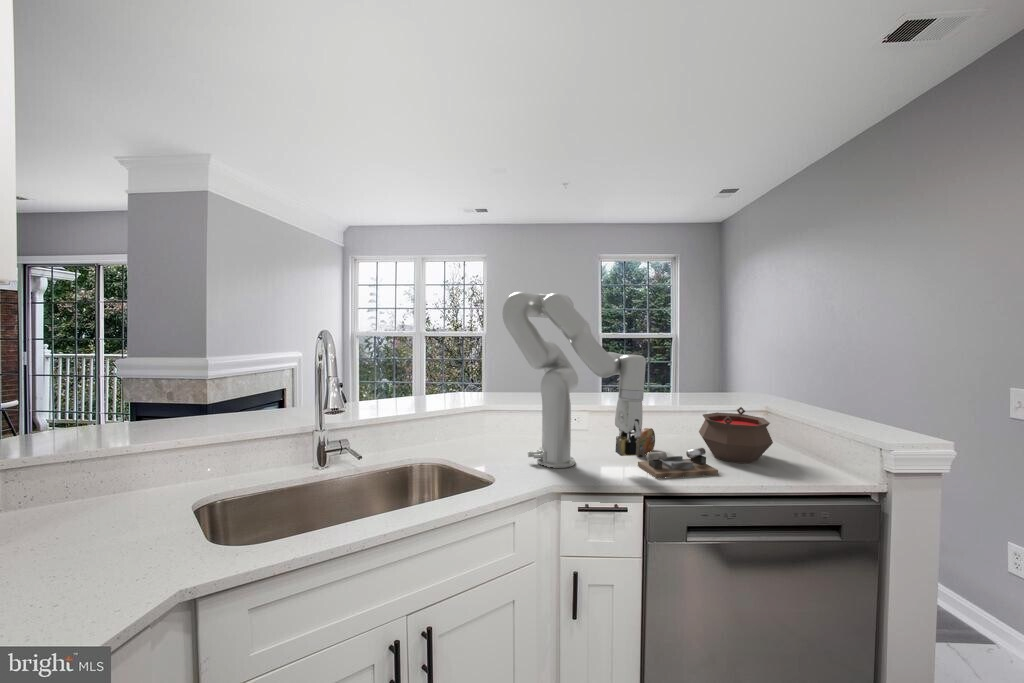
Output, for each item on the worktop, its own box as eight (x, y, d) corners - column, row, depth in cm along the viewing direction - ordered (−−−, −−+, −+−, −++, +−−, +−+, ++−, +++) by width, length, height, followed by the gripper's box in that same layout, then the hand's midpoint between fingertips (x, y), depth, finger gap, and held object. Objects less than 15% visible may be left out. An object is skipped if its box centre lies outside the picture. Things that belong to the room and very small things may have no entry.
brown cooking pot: (766, 472, 143) (768, 421, 143) (688, 458, 158) (689, 411, 157) (777, 455, 163) (779, 410, 162) (706, 443, 177) (707, 402, 176)
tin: (640, 458, 158) (641, 434, 157) (631, 456, 160) (632, 433, 159) (655, 449, 170) (656, 426, 169) (647, 447, 171) (648, 425, 171)
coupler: (620, 455, 140) (621, 439, 139) (615, 451, 144) (616, 436, 143) (638, 455, 141) (639, 439, 141) (633, 451, 145) (633, 436, 144)
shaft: (694, 466, 144) (694, 452, 144) (683, 463, 148) (684, 449, 147) (707, 463, 148) (707, 449, 147) (696, 460, 151) (697, 446, 151)
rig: (656, 478, 137) (656, 458, 137) (637, 466, 149) (638, 447, 149) (718, 474, 141) (718, 455, 141) (695, 462, 153) (696, 444, 153)
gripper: (608, 389, 149) (605, 444, 150) (631, 399, 132) (627, 461, 133) (630, 389, 150) (626, 444, 151) (655, 399, 134) (651, 460, 135)
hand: (627, 451), depth 142 cm, fingers closed on coupler, 4 cm apart
